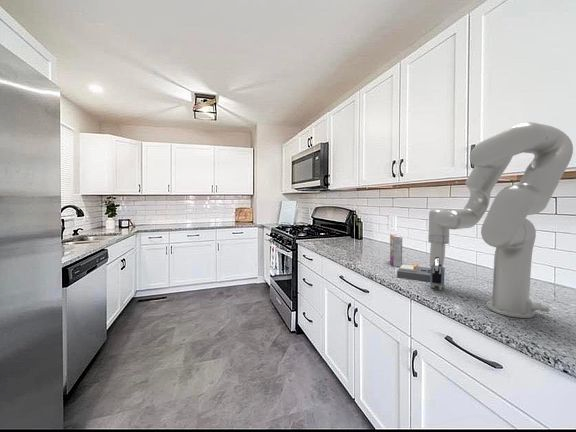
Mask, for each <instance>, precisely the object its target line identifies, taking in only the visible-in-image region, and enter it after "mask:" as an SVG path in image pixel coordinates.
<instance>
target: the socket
mask: <svg viewBox="0 0 576 432" xmlns="http://www.w3.org/2000/svg"><path fill="white" fill-rule="evenodd" d="M396 272H397V275H396V277H397V278H399V279H405V280H414V281H421V282H426V283H427V282H428V283H430V272H431V267H427V266H425V267H424V266H418V269H417V271H407V270H400V267H398V270H397V271H396Z"/></svg>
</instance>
